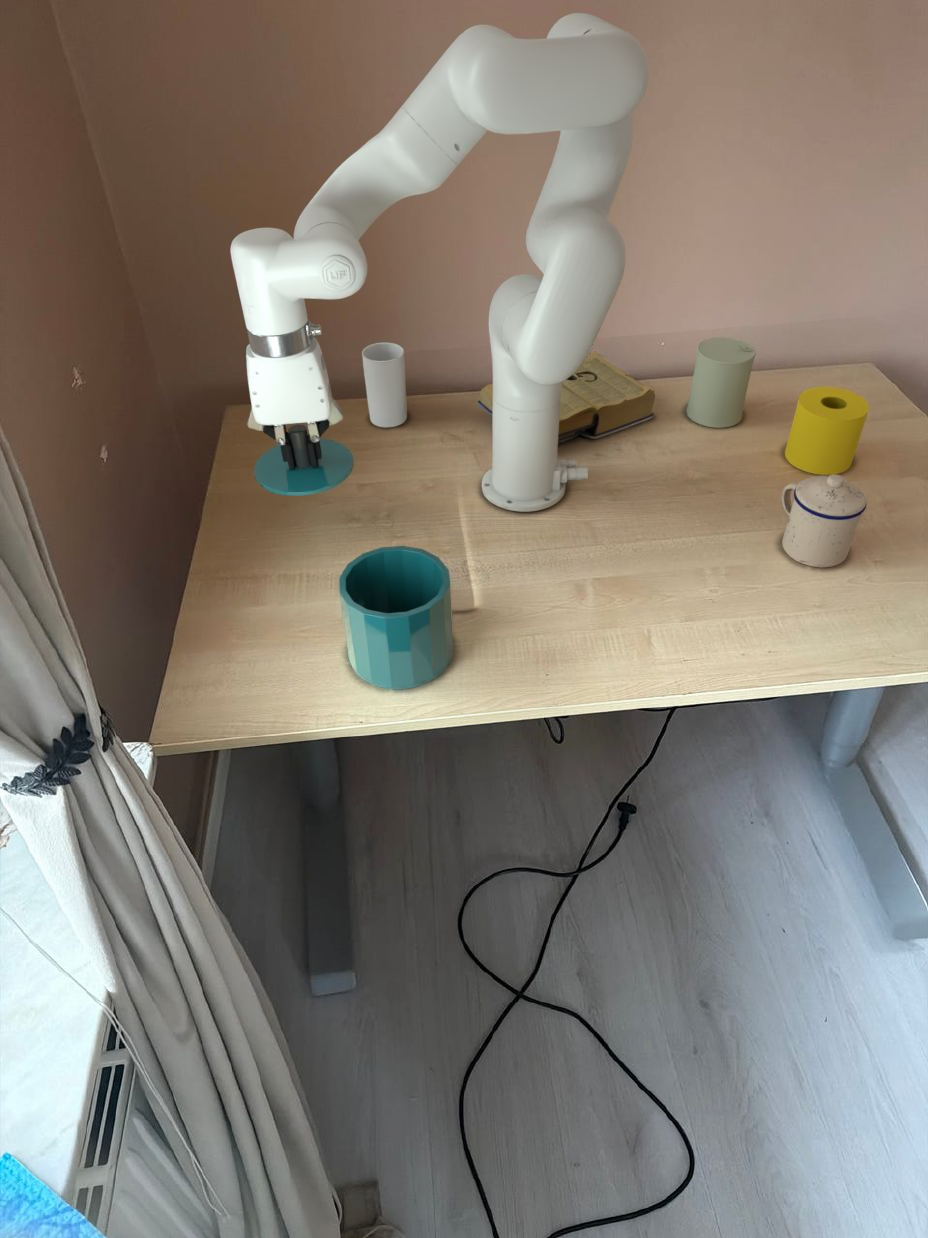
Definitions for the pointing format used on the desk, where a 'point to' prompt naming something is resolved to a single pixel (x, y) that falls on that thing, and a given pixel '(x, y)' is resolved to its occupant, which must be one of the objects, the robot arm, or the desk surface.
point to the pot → (397, 616)
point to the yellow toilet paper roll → (826, 430)
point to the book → (595, 400)
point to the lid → (304, 466)
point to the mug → (385, 383)
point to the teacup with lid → (821, 519)
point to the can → (720, 381)
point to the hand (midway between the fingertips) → (303, 462)
